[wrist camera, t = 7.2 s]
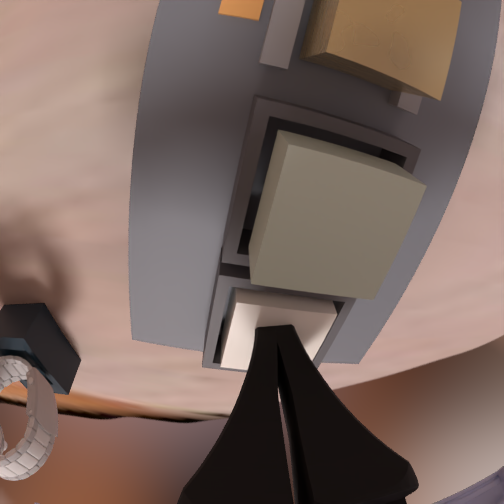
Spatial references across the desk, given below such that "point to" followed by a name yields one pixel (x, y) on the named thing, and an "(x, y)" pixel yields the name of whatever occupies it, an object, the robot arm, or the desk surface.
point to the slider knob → (385, 41)
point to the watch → (34, 381)
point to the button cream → (271, 322)
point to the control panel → (259, 154)
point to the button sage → (330, 218)
